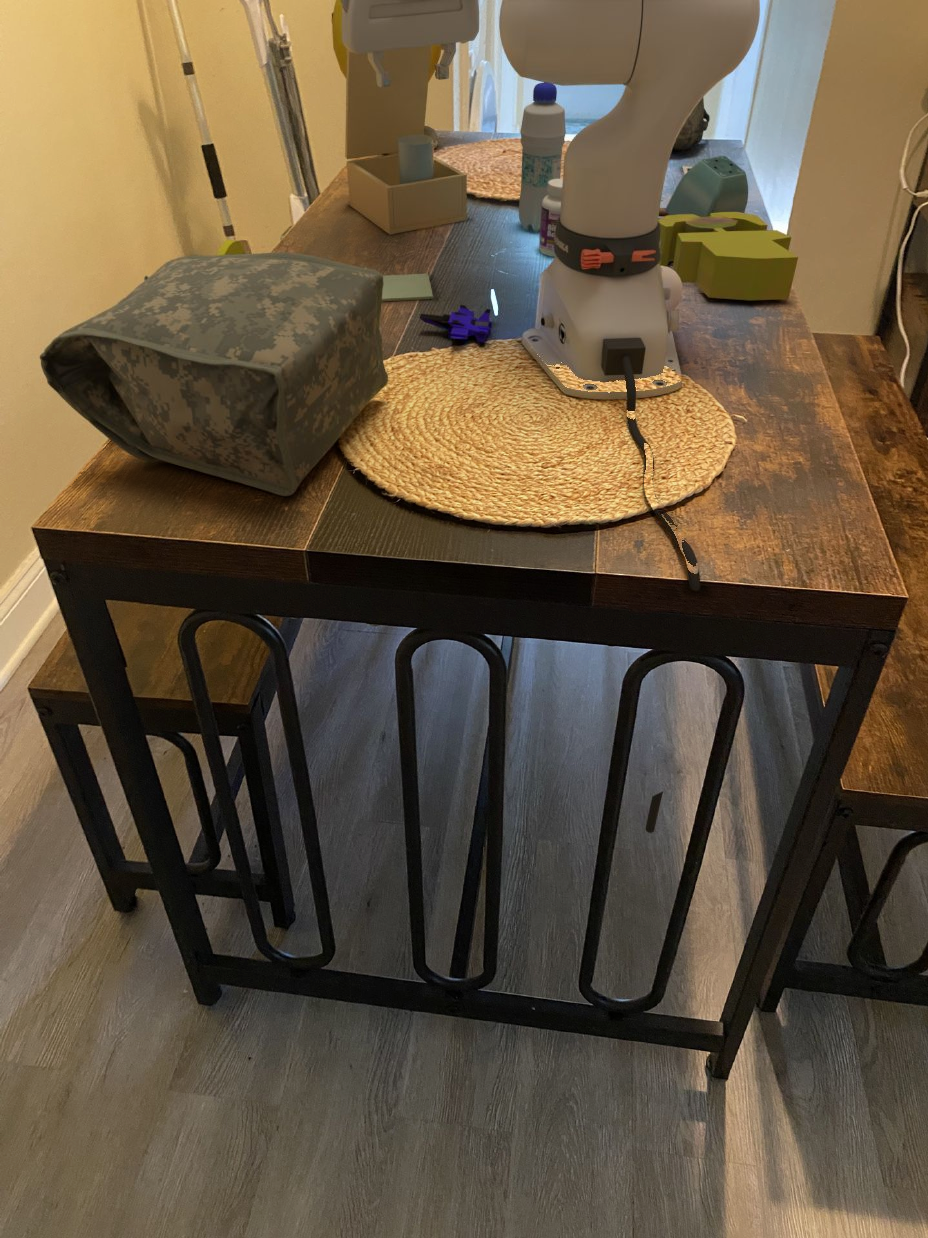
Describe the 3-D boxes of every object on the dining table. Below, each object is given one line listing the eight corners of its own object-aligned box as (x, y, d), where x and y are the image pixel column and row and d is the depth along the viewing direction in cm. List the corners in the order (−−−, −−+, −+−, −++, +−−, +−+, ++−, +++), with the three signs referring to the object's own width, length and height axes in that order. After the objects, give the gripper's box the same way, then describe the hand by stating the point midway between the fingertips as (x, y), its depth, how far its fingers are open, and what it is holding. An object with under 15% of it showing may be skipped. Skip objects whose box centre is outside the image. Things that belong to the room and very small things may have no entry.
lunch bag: (390, 399, 103) (179, 349, 109) (386, 259, 91) (151, 211, 97) (295, 517, 88) (57, 450, 94) (276, 366, 76) (7, 302, 82)
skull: (737, 79, 161) (674, 11, 168) (651, 143, 164) (593, 74, 171) (740, 153, 180) (683, 90, 186) (663, 209, 183) (609, 145, 189)
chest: (466, 219, 146) (466, 174, 141) (389, 234, 141) (387, 187, 137) (423, 192, 156) (421, 149, 152) (349, 205, 151) (346, 161, 147)
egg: (683, 282, 120) (689, 257, 112) (675, 328, 119) (680, 305, 112) (637, 277, 120) (639, 251, 113) (629, 322, 120) (630, 299, 113)
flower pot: (765, 176, 135) (739, 232, 142) (726, 145, 138) (703, 201, 146) (722, 184, 131) (699, 241, 138) (684, 152, 135) (663, 209, 142)
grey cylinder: (440, 216, 145) (439, 141, 137) (410, 222, 143) (407, 145, 135) (420, 203, 150) (417, 129, 142) (390, 208, 148) (386, 133, 140)
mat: (433, 298, 123) (433, 295, 123) (358, 302, 122) (358, 299, 122) (428, 276, 129) (427, 273, 129) (356, 279, 128) (356, 276, 128)
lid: (432, 40, 138) (417, 25, 140) (348, 49, 133) (335, 33, 135) (422, 147, 151) (409, 132, 153) (346, 159, 146) (334, 143, 149)
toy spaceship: (495, 305, 117) (493, 321, 118) (426, 297, 117) (425, 314, 119) (486, 339, 109) (485, 356, 111) (413, 330, 110) (412, 347, 111)
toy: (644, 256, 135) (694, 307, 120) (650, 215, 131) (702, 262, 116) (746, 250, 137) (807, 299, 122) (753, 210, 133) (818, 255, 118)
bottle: (556, 235, 141) (566, 88, 127) (513, 232, 142) (518, 86, 128) (562, 221, 146) (571, 77, 132) (520, 218, 147) (525, 76, 133)
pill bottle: (545, 259, 133) (550, 189, 127) (534, 246, 137) (537, 178, 131) (580, 255, 134) (586, 186, 128) (568, 243, 138) (573, 174, 132)
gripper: (347, -25, 118) (356, 95, 127) (485, -36, 125) (484, 78, 135) (329, -32, 122) (338, 85, 132) (463, -42, 129) (463, 69, 139)
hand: (413, 82), depth 133 cm, fingers open, 8 cm apart
